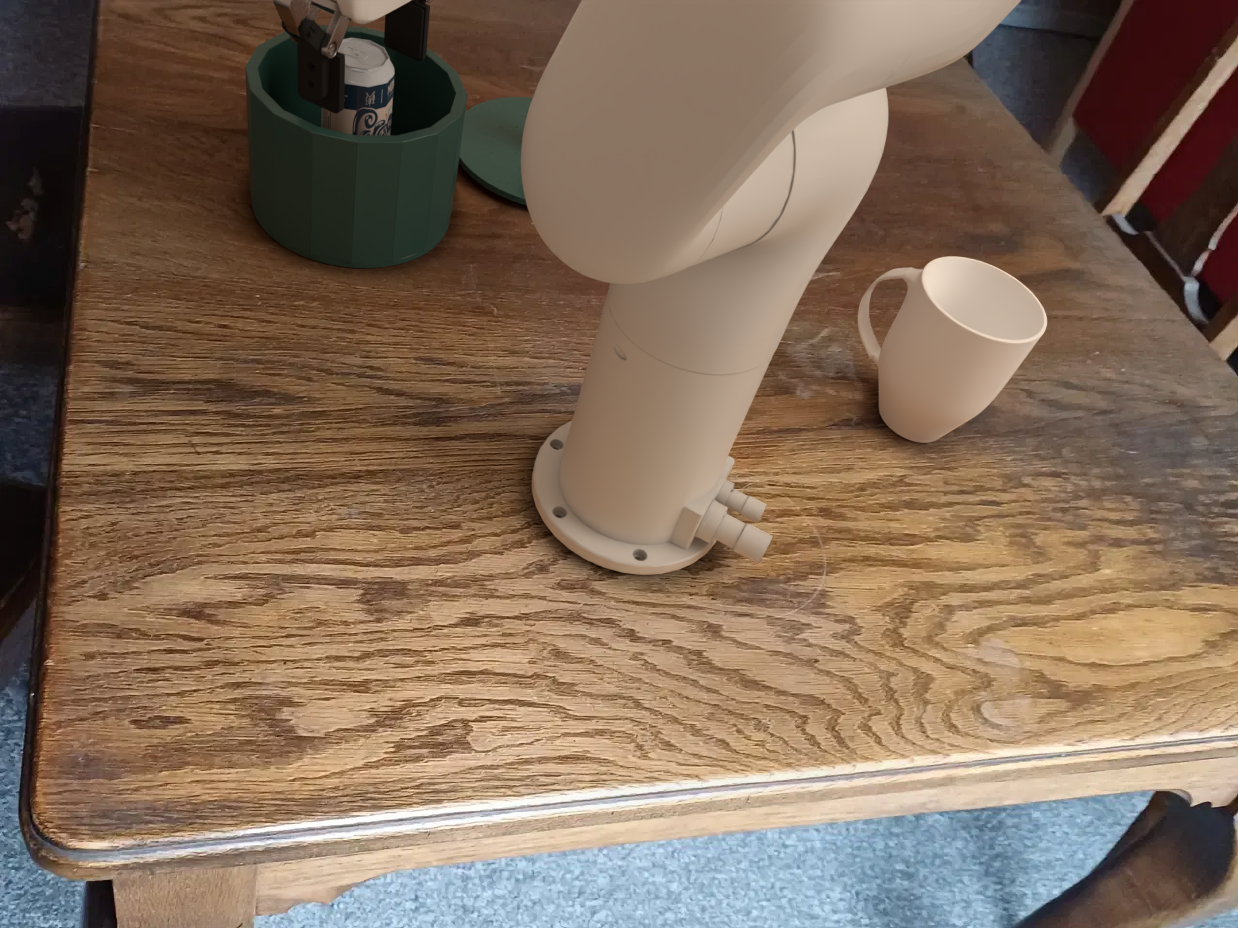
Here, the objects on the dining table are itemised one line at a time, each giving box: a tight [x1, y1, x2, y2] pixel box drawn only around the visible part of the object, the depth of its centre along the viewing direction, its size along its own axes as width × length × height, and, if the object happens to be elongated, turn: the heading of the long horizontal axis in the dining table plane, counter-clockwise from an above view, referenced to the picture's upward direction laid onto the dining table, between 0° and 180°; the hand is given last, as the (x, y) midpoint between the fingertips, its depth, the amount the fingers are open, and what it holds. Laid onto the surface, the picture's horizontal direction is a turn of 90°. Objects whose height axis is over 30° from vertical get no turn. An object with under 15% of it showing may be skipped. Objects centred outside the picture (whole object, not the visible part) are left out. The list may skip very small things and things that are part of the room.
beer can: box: [321, 38, 395, 136], centre depth 77 cm, size 5×5×12 cm
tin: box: [244, 24, 468, 269], centre depth 78 cm, size 15×15×10 cm
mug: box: [857, 255, 1048, 444], centre depth 76 cm, size 12×9×12 cm
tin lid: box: [458, 96, 533, 206], centre depth 89 cm, size 16×16×7 cm
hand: (364, 77), depth 73 cm, fingers open, 9 cm apart
